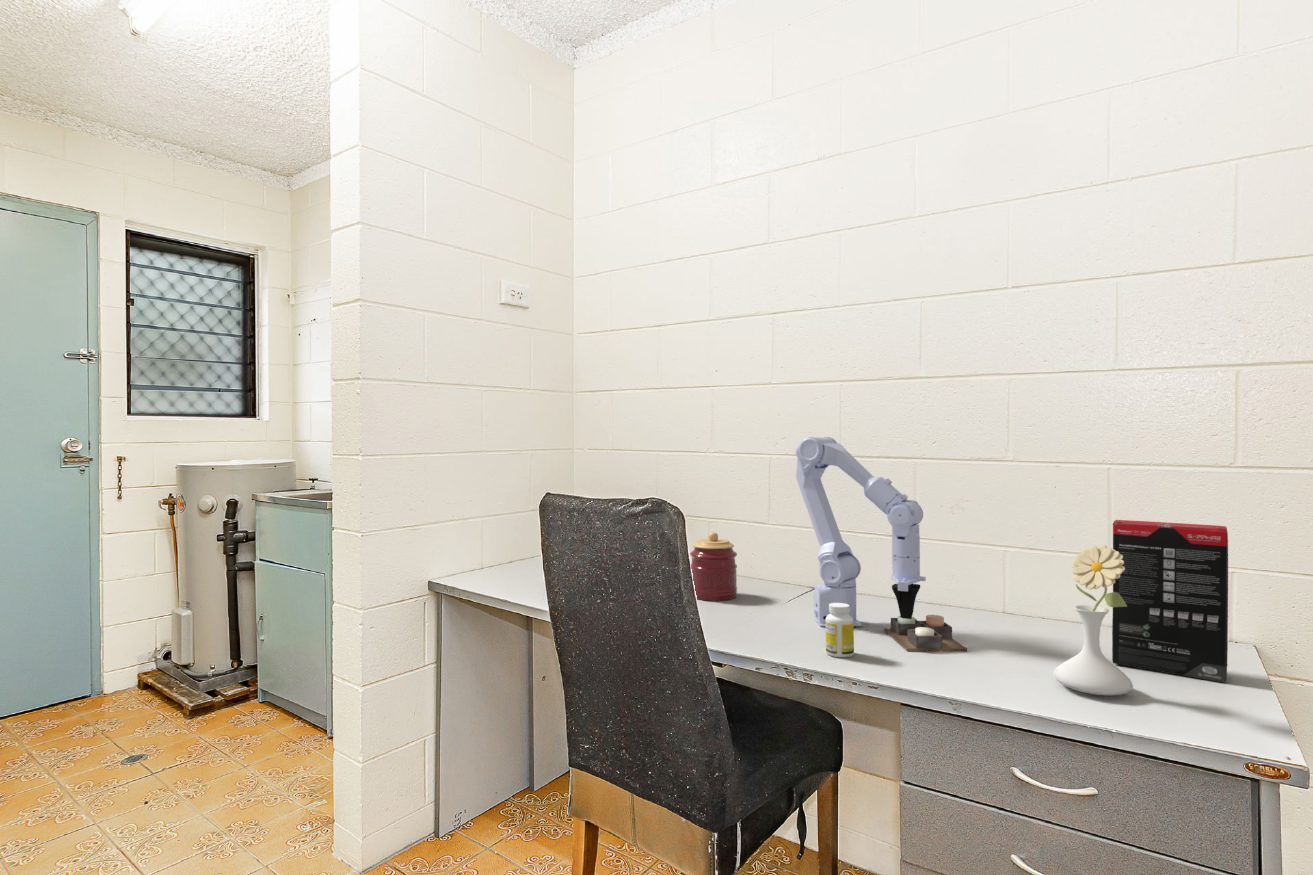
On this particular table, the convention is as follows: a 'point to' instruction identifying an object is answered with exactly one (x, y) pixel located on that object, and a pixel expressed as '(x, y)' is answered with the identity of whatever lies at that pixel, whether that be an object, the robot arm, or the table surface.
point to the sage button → (906, 620)
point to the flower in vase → (1095, 626)
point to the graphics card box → (1172, 598)
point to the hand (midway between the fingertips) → (906, 618)
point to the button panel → (923, 637)
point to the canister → (714, 569)
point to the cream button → (924, 631)
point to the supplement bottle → (839, 631)
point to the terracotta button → (934, 621)
